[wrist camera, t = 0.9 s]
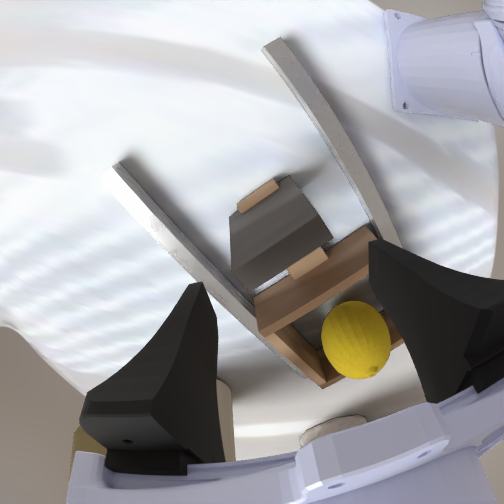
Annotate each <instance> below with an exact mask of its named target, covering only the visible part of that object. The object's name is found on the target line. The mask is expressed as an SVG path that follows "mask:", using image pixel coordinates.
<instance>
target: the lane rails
mask: <svg viewBox="0 0 504 504" xmlns="http://www.w3.org/2000/svg"><path fill="white" fill-rule="evenodd" d="M261 51H262V53H263V54H264V55H265V56H266V58H267V59H268V60H269V61H270V63H271V64H272V65H273V67H274V68H275V69H276V71H277V72H278V73H279V75H280V76H281V77H282V79H283V80H284V81H285V83H286V84H287V85H288V87H289V88H290V90H291V91H292V92H293V94H294V95H295V97H296V98H297V99H298V101H299V102H300V104H301V105H302V107H303V108H304V110H305V111H306V112H307V114H308V115H309V117H310V118H311V120H312V121H313V123H314V125H315V126H316V128H317V129H318V131H319V132H320V134H321V135H322V137H323V138H324V140H325V142H326V143H327V145H328V146H329V148H330V150H331V151H332V153H333V155H334V156H335V158H336V160H337V161H338V163H339V165H340V166H341V168H342V170H343V171H344V173H345V175H346V177H347V178H348V180H349V182H350V184H351V186H352V187H353V189H354V191H355V193H356V195H357V196H358V198H359V200H360V202H361V204H362V206H363V208H364V209H365V211H366V213H367V215H368V217H369V219H370V221H371V223H372V225H373V227H374V229H375V231H376V233H377V235H378V237H379V239H383V240H386V241H388V242H390V243H392V244H394V245H396V246H399V247H401V248H403V247H402V244H401V242H400V239H399V237H398V235H397V232H396V230H395V228H394V225H393V223H392V221H391V219H390V217H389V214H388V212H387V210H386V208H385V206H384V204H383V201H382V199H381V197H380V195H379V193H378V191H377V189H376V187H375V185H374V183H373V181H372V179H371V177H370V175H369V173H368V171H367V169H366V168H365V166H364V164H363V162H362V160H361V158H360V156H359V155H358V153H357V151H356V149H355V147H354V146H353V144H352V142H351V140H350V139H349V137H348V135H347V134H346V132H345V130H344V128H343V127H342V125H341V123H340V122H339V120H338V119H337V117H336V115H335V114H334V112H333V110H332V109H331V107H330V106H329V104H328V103H327V101H326V100H325V98H324V96H323V95H322V93H321V92H320V90H319V89H318V87H317V86H316V84H315V83H314V82H313V80H312V79H311V77H310V76H309V74H308V73H307V72H306V70H305V69H304V67H303V66H302V65H301V63H300V62H299V60H298V59H297V58H296V56H295V55H294V54H293V52H292V51H291V50H290V49H289V47H288V46H287V45H286V43H285V42H284V41H283V40H282V38H281V37H279V38H278V39H276V40H274V41H272V42H271V43H269V44H267V45H266V46H264V47H263V48H262V50H261ZM100 180H101V181H102V182H103V184H104V185H105V186H106V187H107V188H108V189H109V190H110V191H111V193H112V194H113V195H114V196H115V197H116V198H117V199H118V200H119V201H120V202H121V204H122V205H123V206H124V207H125V208H126V209H127V210H128V211H129V212H130V213H131V214H132V215H133V216H134V218H135V219H136V220H137V221H138V222H139V223H140V224H141V225H142V226H143V227H144V228H145V229H146V230H147V231H148V232H149V233H150V234H151V235H152V237H153V238H154V239H155V240H156V241H157V242H158V243H159V244H160V245H161V246H162V247H163V248H164V249H165V250H166V251H167V252H168V253H169V254H170V255H171V256H172V257H173V258H174V259H175V260H176V261H177V262H178V263H179V264H180V265H181V266H182V267H183V268H184V269H185V270H186V271H187V272H188V273H189V274H190V275H191V276H192V277H193V278H194V279H195V280H196V281H197V282H202V281H203V284H204V286H205V289H206V291H208V292H209V293H210V294H211V295H212V296H213V297H214V298H215V299H216V300H217V301H218V302H219V303H220V304H221V305H222V306H223V307H224V308H225V309H226V310H228V311H229V312H230V313H231V314H232V315H233V316H234V317H235V318H236V319H237V320H238V321H239V322H240V323H242V324H243V325H244V326H245V327H246V328H247V329H248V330H249V331H250V332H251V333H253V334H254V335H255V336H256V337H257V338H258V339H259V340H260V341H261V342H263V343H264V344H265V345H266V346H267V347H268V348H269V349H270V350H272V351H273V352H274V353H275V354H276V355H277V356H278V357H280V358H281V359H282V360H283V361H284V362H285V363H286V364H288V365H289V366H290V367H291V368H292V369H293V370H295V371H296V372H297V373H298V374H299V375H300V376H302V377H303V378H306V377H308V376H307V375H306V374H304V373H303V372H302V371H301V370H300V369H299V368H298V367H296V366H295V365H294V364H293V363H292V362H291V361H290V360H289V359H287V358H286V357H285V356H284V355H283V354H282V353H281V352H280V351H279V350H277V349H276V348H275V347H274V346H273V345H272V344H271V343H270V342H269V341H268V340H266V339H265V338H264V337H263V336H262V335H261V334H260V333H259V332H258V327H257V320H256V313H255V307H254V306H253V305H252V304H251V303H250V302H249V301H248V300H247V299H246V298H245V297H244V296H243V295H242V294H241V293H240V292H239V291H238V290H237V289H236V288H235V287H234V286H233V285H232V284H231V283H230V282H229V281H228V280H227V279H226V278H225V277H224V276H223V275H222V273H221V272H220V271H219V270H218V269H217V268H216V267H215V266H214V265H213V264H212V263H211V262H210V261H209V260H208V259H207V258H206V257H205V256H204V255H203V254H202V253H201V252H200V250H199V249H198V248H197V247H196V246H195V245H194V244H193V243H192V242H191V241H190V240H189V239H188V238H187V237H186V236H185V234H184V233H183V232H182V231H181V230H180V229H179V228H178V227H177V226H176V225H175V224H174V223H173V222H172V220H171V219H170V218H169V217H168V216H167V215H166V214H165V213H164V212H163V211H162V210H161V208H160V207H159V206H158V205H157V204H156V203H155V202H154V201H153V200H152V199H151V197H150V196H149V195H148V194H147V193H146V192H145V191H144V190H143V189H142V187H141V186H140V185H139V184H138V183H137V182H136V181H135V180H134V179H133V177H132V176H131V175H130V174H129V173H128V172H127V171H126V169H125V168H124V167H123V166H122V165H121V164H120V163H119V162H118V163H116V164H115V165H114V166H112V167H111V168H110V169H109V170H108V171H107V172H106V173H105V174H104V175H103V176H102V177H101V178H100Z"/></svg>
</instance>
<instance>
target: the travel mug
mask: <svg viewBox="0 0 504 504" xmlns="http://www.w3.org/2000/svg"><path fill="white" fill-rule="evenodd" d="M216 384H217V400H218V411H219V420H220V428H221V435H222V442H223V449H224V454H225V460H226V462H232V461H236V459H235V444H234V428H233V411H232V393H231V390H230V388H229V387H228V386H227V385H226V384H225V383H223V382H222V381H220V380H218V379H216Z"/></svg>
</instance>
